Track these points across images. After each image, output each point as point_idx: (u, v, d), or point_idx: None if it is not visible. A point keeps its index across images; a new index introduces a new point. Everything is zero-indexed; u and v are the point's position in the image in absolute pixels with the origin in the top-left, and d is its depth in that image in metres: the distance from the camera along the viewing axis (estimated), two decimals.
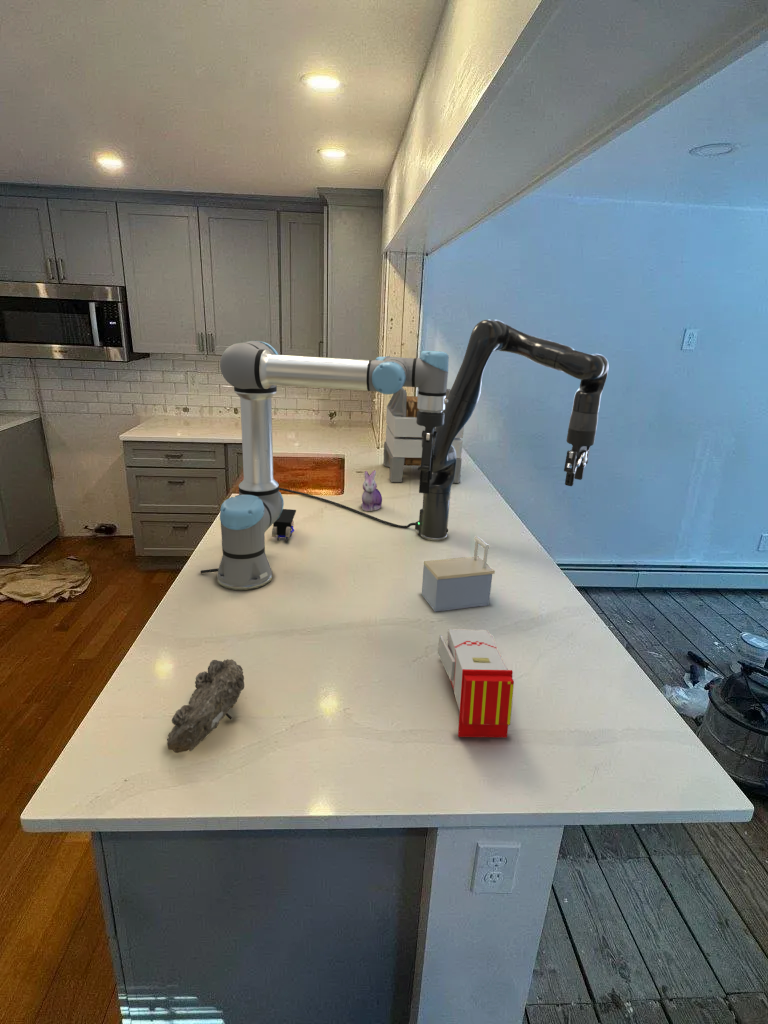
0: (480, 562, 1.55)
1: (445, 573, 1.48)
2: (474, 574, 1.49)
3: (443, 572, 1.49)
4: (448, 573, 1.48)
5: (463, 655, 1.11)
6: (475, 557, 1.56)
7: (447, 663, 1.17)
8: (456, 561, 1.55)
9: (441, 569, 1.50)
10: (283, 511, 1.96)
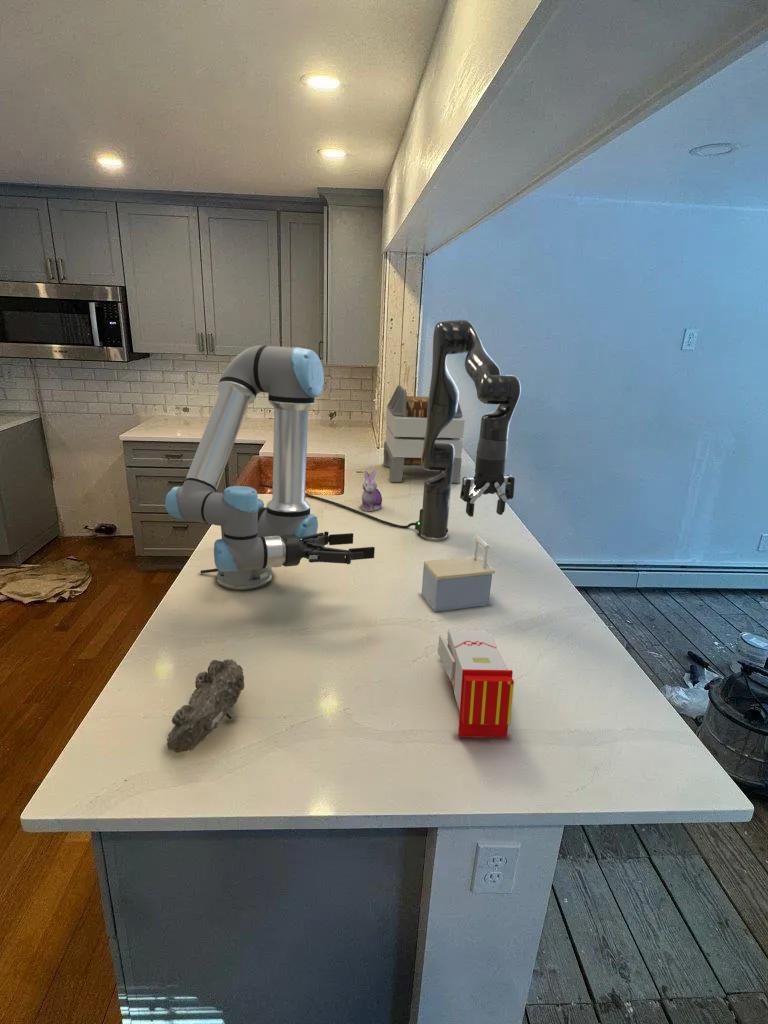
0: (480, 562, 1.55)
1: (445, 573, 1.48)
2: (474, 574, 1.49)
3: (443, 572, 1.49)
4: (448, 573, 1.48)
5: (463, 655, 1.11)
6: (475, 557, 1.56)
7: (447, 663, 1.17)
8: (456, 561, 1.55)
9: (441, 569, 1.50)
10: None
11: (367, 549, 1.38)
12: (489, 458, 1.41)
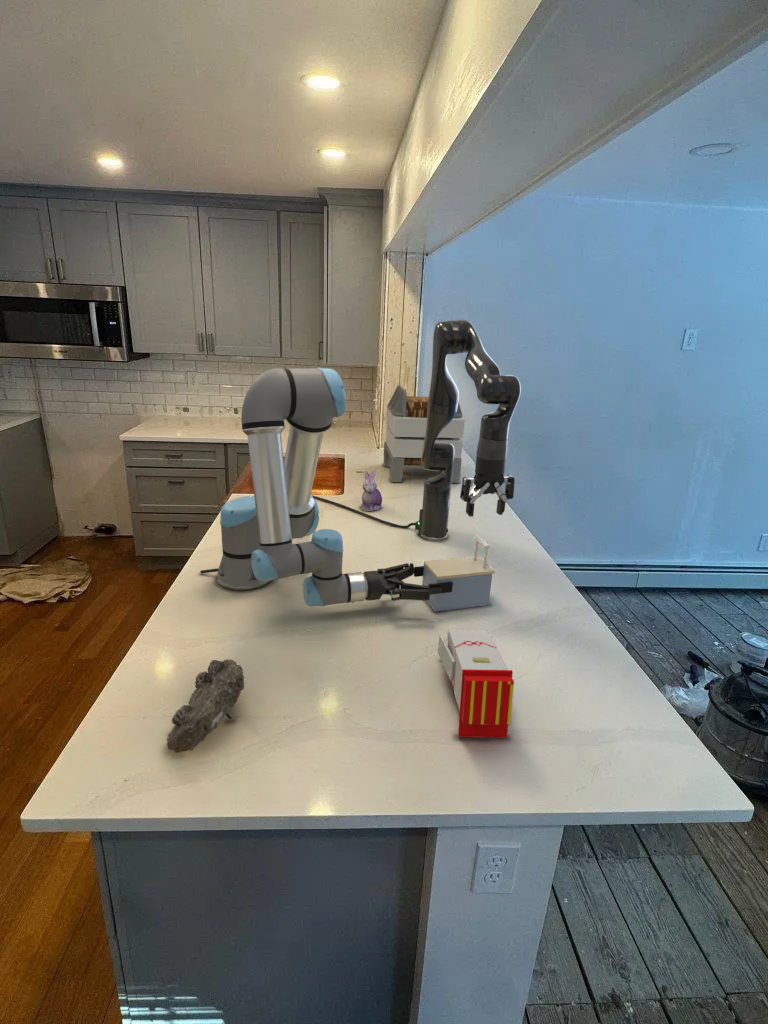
0: (480, 562, 1.55)
1: (445, 573, 1.48)
2: (474, 574, 1.49)
3: (443, 572, 1.49)
4: (448, 573, 1.48)
5: (463, 655, 1.11)
6: (475, 557, 1.56)
7: (447, 663, 1.17)
8: (456, 561, 1.55)
9: (441, 569, 1.50)
10: None
11: (445, 584, 1.47)
12: (489, 458, 1.41)
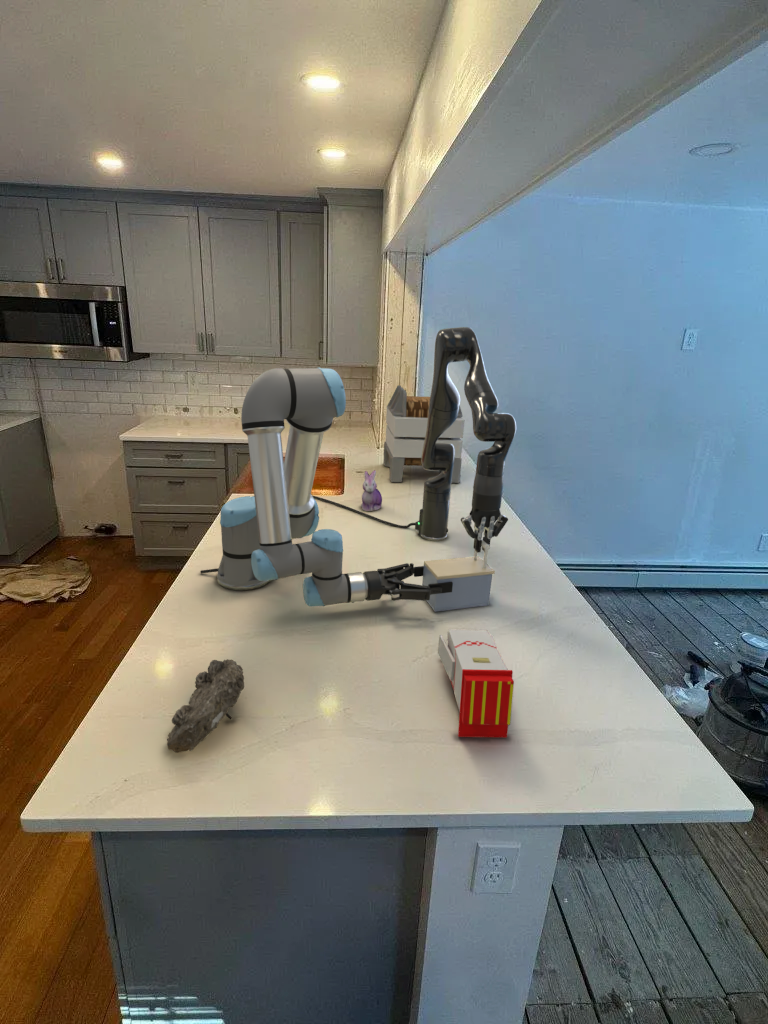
0: (480, 562, 1.55)
1: (445, 573, 1.48)
2: (474, 574, 1.49)
3: (443, 572, 1.49)
4: (448, 573, 1.48)
5: (463, 655, 1.11)
6: (475, 557, 1.56)
7: (447, 663, 1.17)
8: (456, 561, 1.55)
9: (441, 569, 1.50)
10: None
11: (445, 584, 1.47)
12: (485, 494, 1.44)
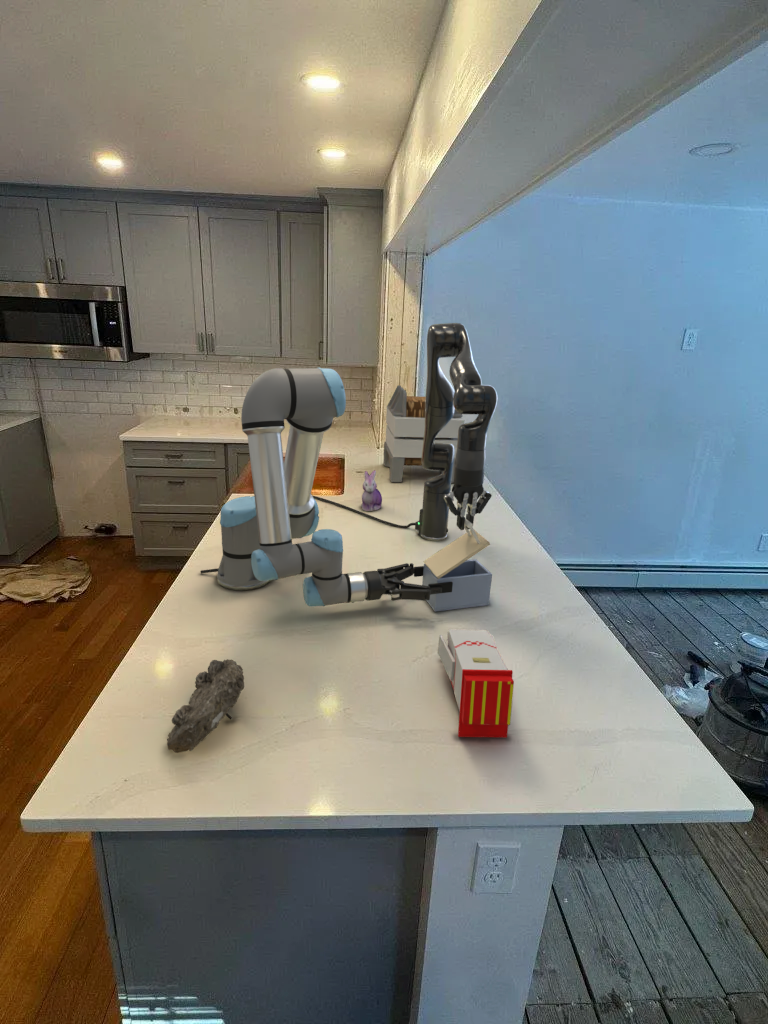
0: None
1: (443, 568, 1.47)
2: (470, 555, 1.47)
3: (441, 567, 1.48)
4: (446, 567, 1.47)
5: (463, 655, 1.11)
6: (468, 533, 1.53)
7: (447, 663, 1.17)
8: (452, 546, 1.53)
9: (439, 565, 1.49)
10: None
11: (445, 584, 1.47)
12: (467, 469, 1.40)
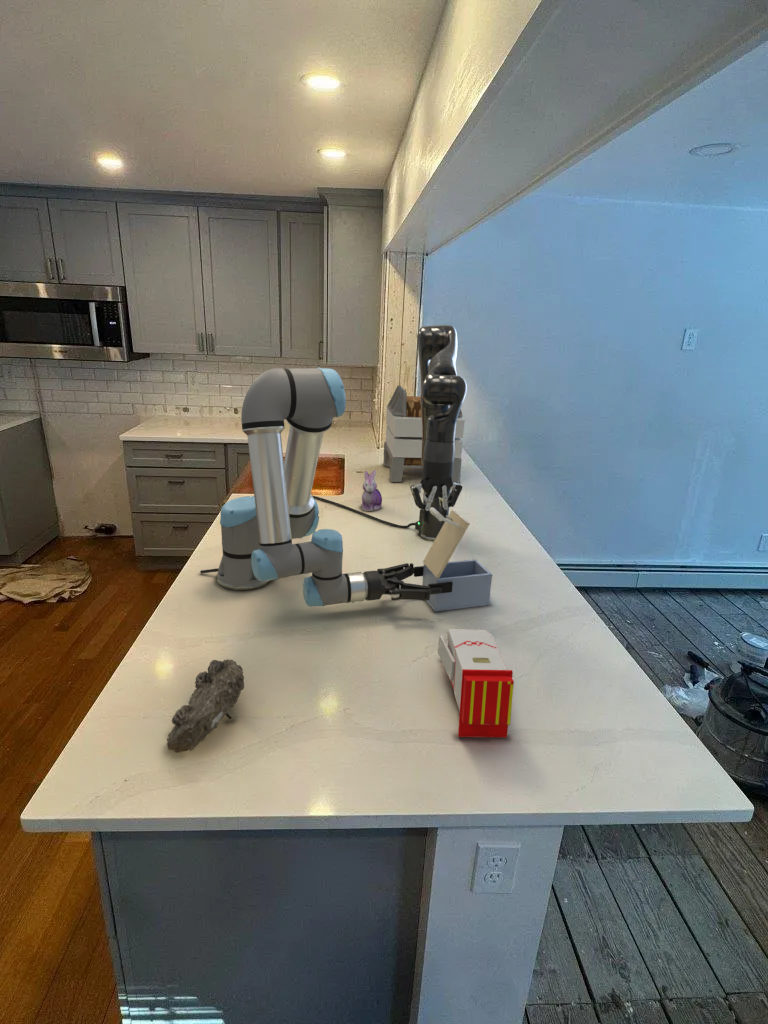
0: (455, 520, 1.48)
1: (439, 566, 1.47)
2: (457, 543, 1.44)
3: (437, 565, 1.47)
4: (441, 564, 1.46)
5: (463, 655, 1.11)
6: (448, 518, 1.50)
7: (447, 663, 1.17)
8: (440, 537, 1.51)
9: (435, 562, 1.49)
10: None
11: (445, 584, 1.47)
12: (435, 461, 1.37)
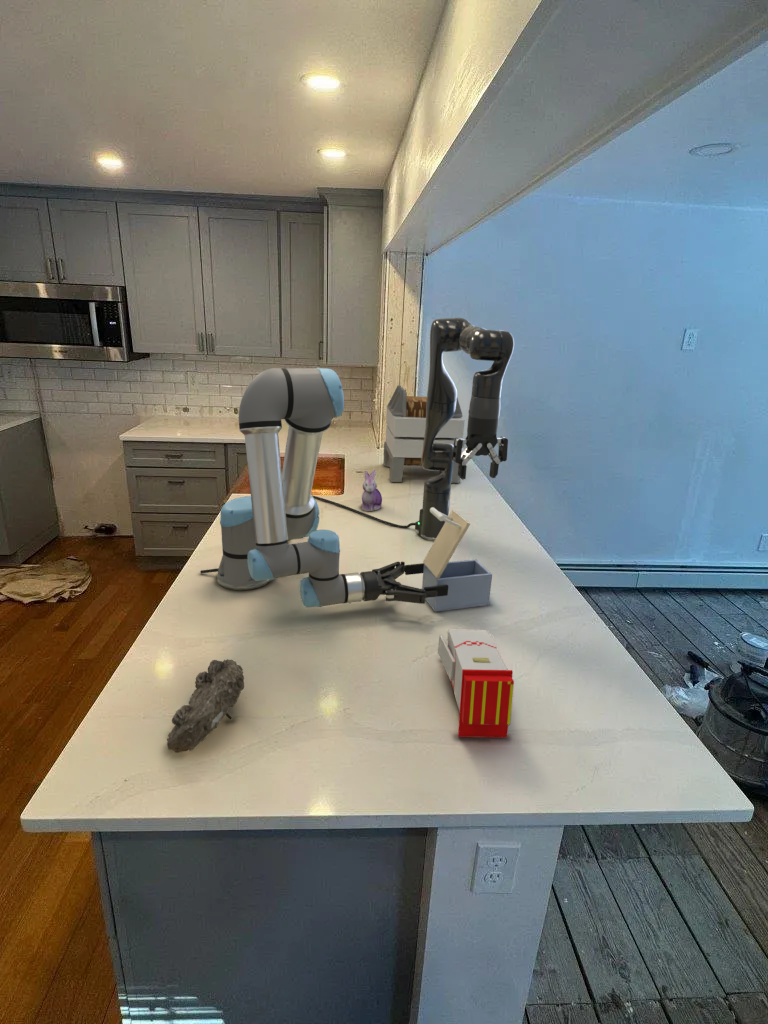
0: (456, 520, 1.48)
1: (439, 566, 1.47)
2: (457, 543, 1.44)
3: (437, 565, 1.47)
4: (441, 564, 1.46)
5: (463, 655, 1.11)
6: (449, 518, 1.50)
7: (447, 663, 1.17)
8: (441, 537, 1.51)
9: (435, 562, 1.49)
10: None
11: (441, 588, 1.45)
12: (481, 417, 1.36)
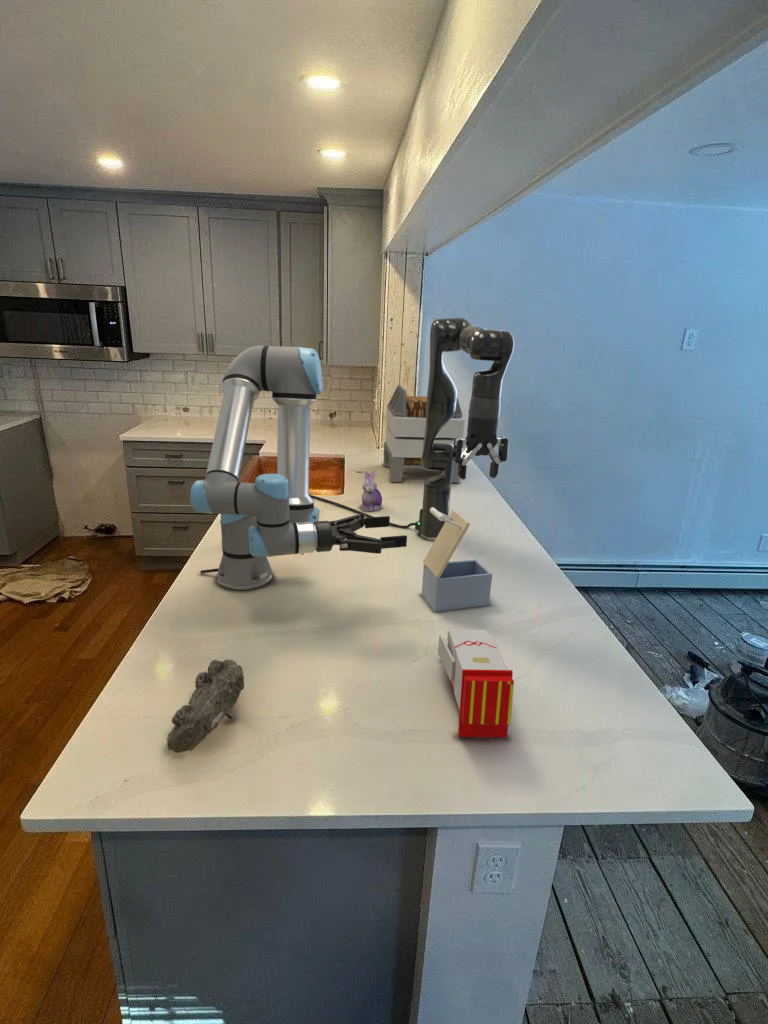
0: (456, 520, 1.48)
1: (439, 566, 1.47)
2: (457, 543, 1.44)
3: (437, 565, 1.47)
4: (441, 564, 1.46)
5: (463, 655, 1.11)
6: (449, 518, 1.50)
7: (447, 663, 1.17)
8: (441, 537, 1.51)
9: (435, 562, 1.49)
10: None
11: (399, 538, 1.36)
12: (481, 417, 1.36)
